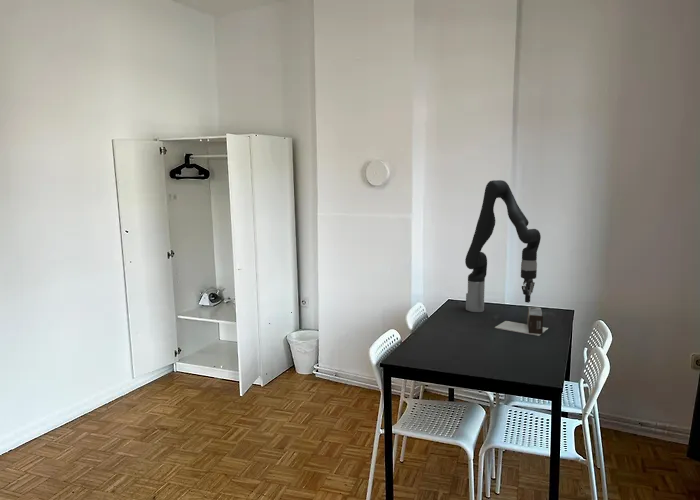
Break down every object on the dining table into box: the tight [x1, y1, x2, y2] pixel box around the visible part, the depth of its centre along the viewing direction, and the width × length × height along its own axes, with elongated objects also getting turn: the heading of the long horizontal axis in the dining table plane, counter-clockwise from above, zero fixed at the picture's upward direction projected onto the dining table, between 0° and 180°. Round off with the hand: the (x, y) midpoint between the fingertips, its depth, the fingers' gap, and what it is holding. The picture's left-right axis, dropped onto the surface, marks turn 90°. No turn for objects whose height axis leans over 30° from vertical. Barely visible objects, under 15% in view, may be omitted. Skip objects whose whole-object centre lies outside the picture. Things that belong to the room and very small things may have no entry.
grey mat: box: [494, 320, 549, 337], centre depth 262 cm, size 22×14×1 cm, turn 52°
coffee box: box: [526, 306, 544, 335], centre depth 259 cm, size 9×6×16 cm
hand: (527, 302), depth 266 cm, fingers closed
